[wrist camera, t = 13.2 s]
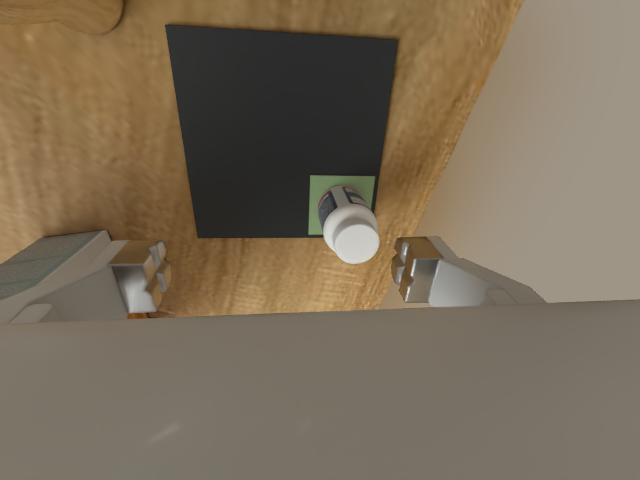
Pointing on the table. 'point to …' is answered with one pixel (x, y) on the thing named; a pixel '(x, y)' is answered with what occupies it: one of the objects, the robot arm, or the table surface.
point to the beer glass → (64, 13)
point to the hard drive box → (52, 261)
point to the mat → (277, 124)
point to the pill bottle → (348, 224)
